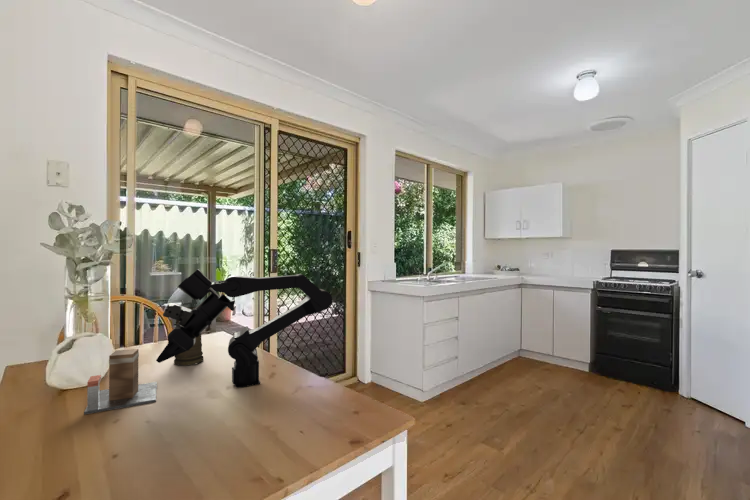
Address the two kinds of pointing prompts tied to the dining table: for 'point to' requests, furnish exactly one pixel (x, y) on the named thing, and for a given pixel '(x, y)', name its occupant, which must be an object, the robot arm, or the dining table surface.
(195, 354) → the container
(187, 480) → the dining table surface
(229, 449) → the dining table surface
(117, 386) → the link block
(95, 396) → the keeper
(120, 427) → the dining table surface
